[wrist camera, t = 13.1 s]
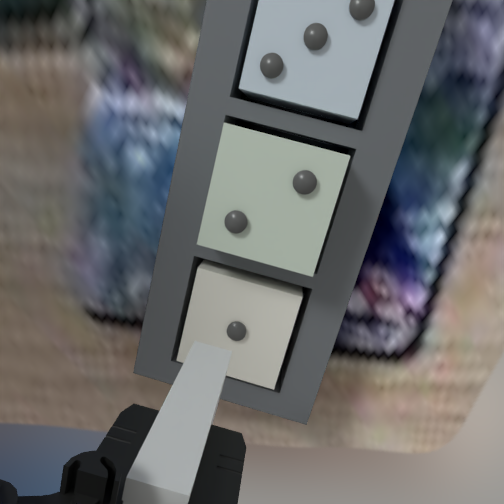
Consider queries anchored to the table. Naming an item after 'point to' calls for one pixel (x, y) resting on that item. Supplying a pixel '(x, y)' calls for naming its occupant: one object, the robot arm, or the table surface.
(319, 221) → the key two
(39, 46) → the table surface
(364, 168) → the keypad housing
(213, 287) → the key one
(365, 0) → the key three
